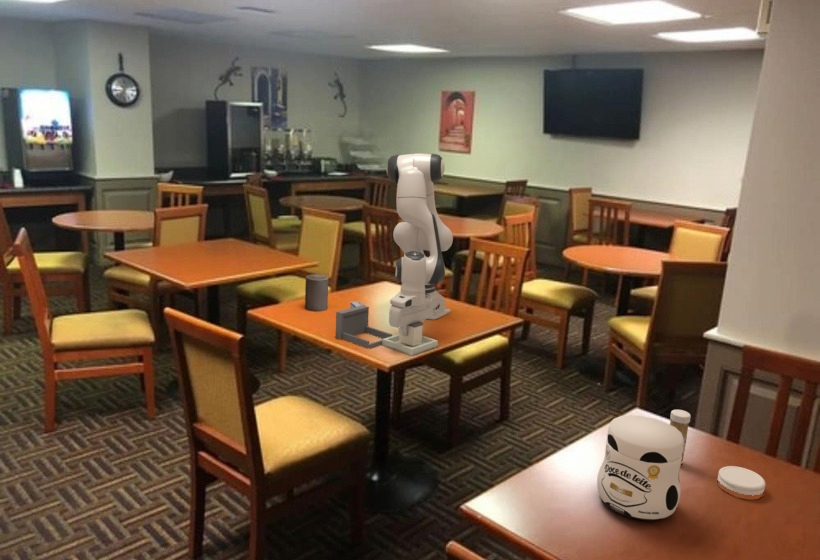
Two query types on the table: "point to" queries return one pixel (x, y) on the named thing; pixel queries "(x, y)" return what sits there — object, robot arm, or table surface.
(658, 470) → the doce de leite jar
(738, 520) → the table surface
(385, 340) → the tray
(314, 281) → the pillar candle
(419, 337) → the block
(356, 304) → the medicine box
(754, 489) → the white round piece
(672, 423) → the sprinkles bottle
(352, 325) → the bay
